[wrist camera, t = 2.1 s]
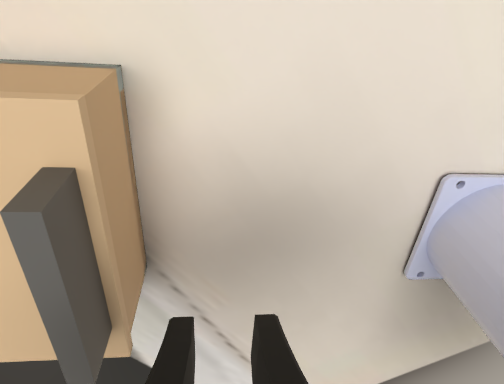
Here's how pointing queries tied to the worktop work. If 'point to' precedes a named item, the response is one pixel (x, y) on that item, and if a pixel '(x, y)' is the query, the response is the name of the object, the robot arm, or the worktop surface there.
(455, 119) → the worktop surface
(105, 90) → the box
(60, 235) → the lid
